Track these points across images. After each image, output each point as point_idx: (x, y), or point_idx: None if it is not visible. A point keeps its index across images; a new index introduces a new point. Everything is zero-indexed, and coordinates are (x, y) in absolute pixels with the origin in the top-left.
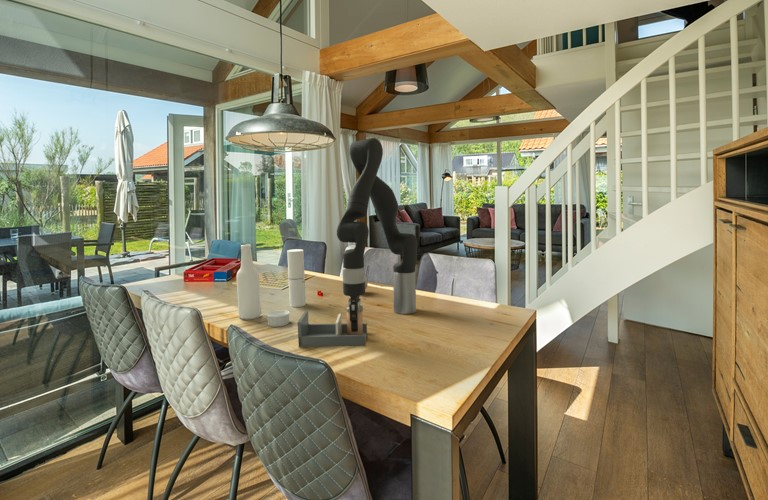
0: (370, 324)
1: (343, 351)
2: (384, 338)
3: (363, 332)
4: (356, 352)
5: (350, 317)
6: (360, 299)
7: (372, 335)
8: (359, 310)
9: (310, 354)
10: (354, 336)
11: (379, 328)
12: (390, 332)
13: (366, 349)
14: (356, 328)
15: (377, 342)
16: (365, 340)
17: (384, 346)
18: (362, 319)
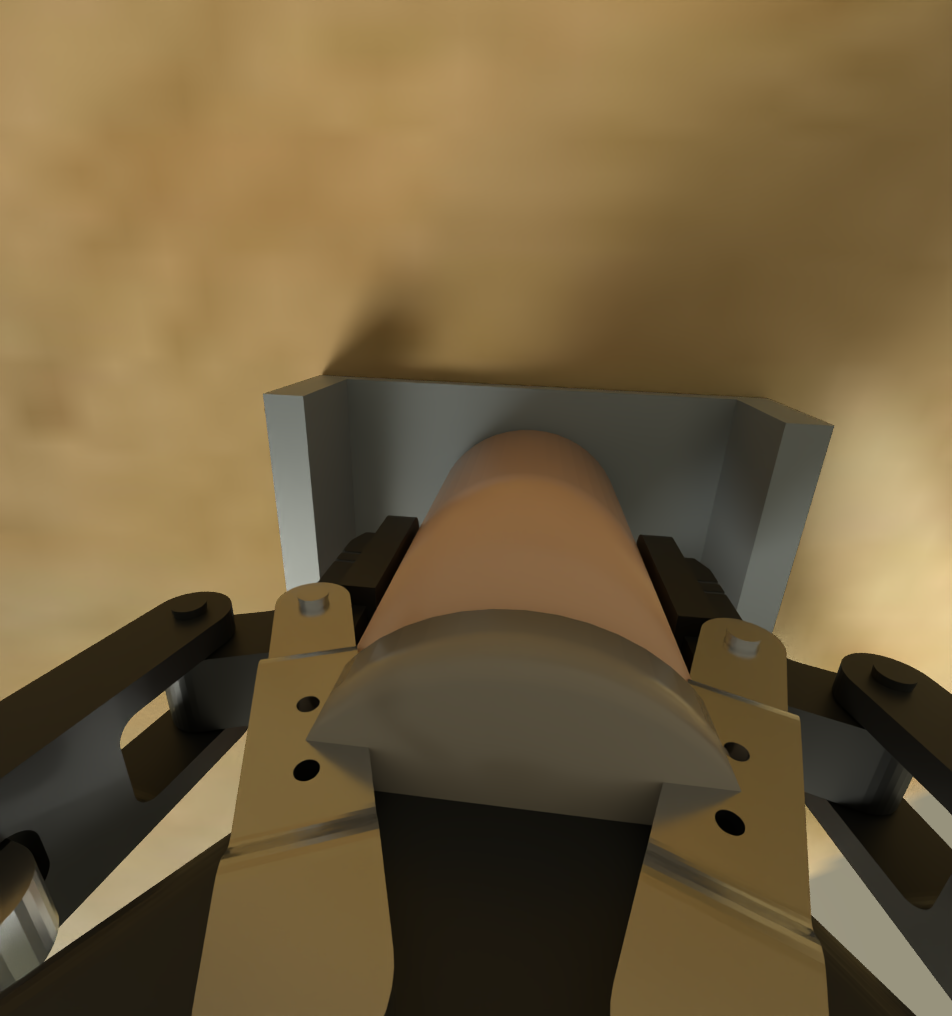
0: (46, 327)
1: (847, 616)
2: (541, 123)
3: (362, 419)
4: (926, 496)
5: (935, 850)
6: (235, 989)
7: (419, 304)
8: (713, 733)
9: (823, 840)
10: (791, 565)
11: (164, 201)
12: (304, 13)
13: (875, 384)
14: (693, 571)
15: (674, 236)
16: (632, 397)
17: (851, 126)
18: (547, 514)
